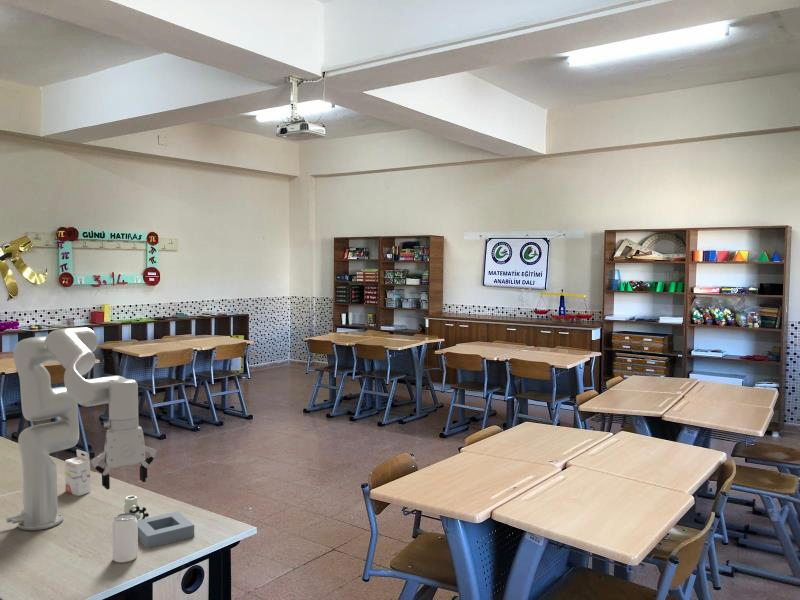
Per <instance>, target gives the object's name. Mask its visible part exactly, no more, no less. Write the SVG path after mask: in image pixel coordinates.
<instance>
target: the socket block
mask: <svg viewBox="0 0 800 600" xmlns="http://www.w3.org/2000/svg"><path fill="white" fill-rule="evenodd" d="M137 529H138V540H139V541H140V542H141V544H143V545H144V546H145V547H146V548H147V549H150V548H153V547H154V548H155V547H156V546H158V547H159V546H161V545H165V544H168V543H169V544H170V543H174V542H177V541H181V540H184V539H190V538H193V537H195V524H194V523H193V522H191V521H190V520H189V519H188V518H187V517H185V515H183V514H182V513H181V512H180V511H178V510H177V511H172V512H169V513H164V514H160V515H156V516H150V517H145V519H142V518H140V519H138V520H137Z"/></svg>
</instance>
